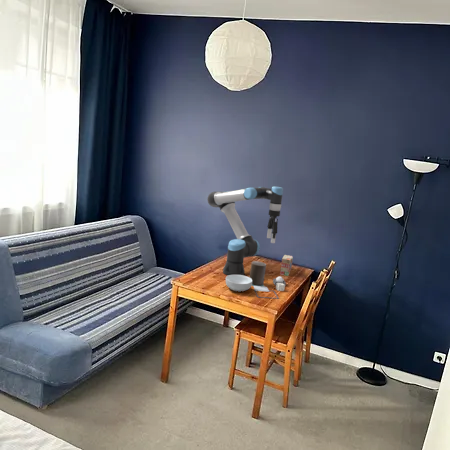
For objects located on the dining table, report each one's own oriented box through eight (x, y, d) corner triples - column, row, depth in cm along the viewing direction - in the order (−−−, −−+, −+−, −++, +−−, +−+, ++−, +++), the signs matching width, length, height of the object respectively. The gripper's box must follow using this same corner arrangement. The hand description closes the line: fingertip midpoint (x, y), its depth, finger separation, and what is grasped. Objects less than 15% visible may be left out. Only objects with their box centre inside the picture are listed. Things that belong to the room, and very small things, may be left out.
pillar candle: (251, 285, 268) (254, 263, 265) (246, 280, 277) (249, 258, 274) (265, 286, 270) (268, 264, 267) (260, 280, 279) (263, 259, 276)
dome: (276, 284, 275) (277, 277, 274) (274, 281, 280) (275, 275, 279) (283, 284, 276) (284, 278, 275) (282, 282, 280) (282, 275, 280)
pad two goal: (250, 285, 268) (250, 285, 268) (248, 281, 277) (248, 280, 277) (264, 286, 269) (264, 286, 269) (261, 282, 278) (262, 281, 278)
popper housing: (275, 285, 274) (275, 282, 274) (272, 281, 281) (273, 278, 280) (285, 286, 275) (285, 282, 274) (283, 282, 282) (283, 279, 281)
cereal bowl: (223, 283, 266) (224, 273, 265) (249, 285, 268) (250, 275, 266) (225, 293, 250) (226, 282, 248) (252, 295, 251) (254, 284, 250)
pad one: (255, 290, 260) (255, 290, 260) (253, 286, 268) (253, 285, 268) (269, 291, 261) (269, 291, 261) (266, 287, 269) (266, 286, 269)
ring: (257, 297, 249) (257, 296, 249) (254, 289, 261) (254, 289, 261) (278, 298, 250) (278, 298, 250) (274, 291, 263) (274, 290, 263)
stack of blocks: (283, 267, 320) (285, 251, 317) (291, 268, 318) (293, 253, 316) (279, 274, 299) (282, 258, 297) (288, 276, 298) (290, 259, 295)
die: (278, 291, 264) (279, 285, 264) (275, 288, 268) (276, 282, 267) (284, 290, 266) (284, 284, 265) (281, 288, 269) (282, 282, 269)
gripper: (284, 213, 267) (280, 245, 271) (276, 207, 291) (272, 236, 295) (273, 212, 266) (268, 244, 270) (265, 206, 290) (261, 235, 294)
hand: (270, 240), depth 283 cm, fingers open, 13 cm apart
